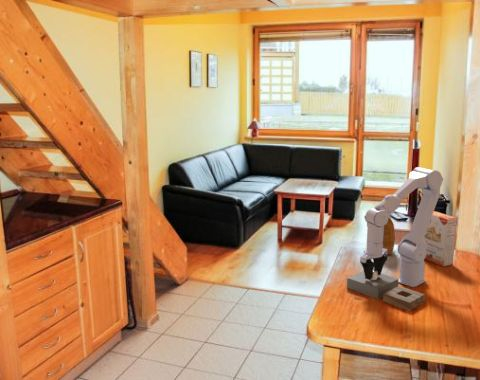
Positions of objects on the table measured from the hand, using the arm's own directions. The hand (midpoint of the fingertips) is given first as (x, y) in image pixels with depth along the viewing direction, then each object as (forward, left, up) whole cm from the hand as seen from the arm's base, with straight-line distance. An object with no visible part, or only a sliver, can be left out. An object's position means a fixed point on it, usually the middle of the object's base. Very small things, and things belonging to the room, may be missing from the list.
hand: (372, 276), depth 181 cm
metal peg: (0, 0, -5) cm, 5 cm away
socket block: (+2, +14, -5) cm, 15 cm away
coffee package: (-40, -21, -5) cm, 45 cm away
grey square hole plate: (0, 0, -5) cm, 5 cm away
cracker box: (-46, +1, -5) cm, 46 cm away
